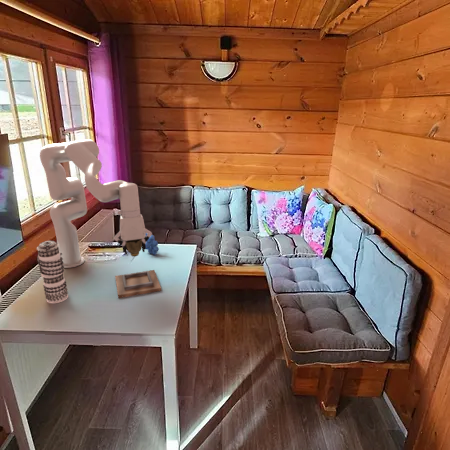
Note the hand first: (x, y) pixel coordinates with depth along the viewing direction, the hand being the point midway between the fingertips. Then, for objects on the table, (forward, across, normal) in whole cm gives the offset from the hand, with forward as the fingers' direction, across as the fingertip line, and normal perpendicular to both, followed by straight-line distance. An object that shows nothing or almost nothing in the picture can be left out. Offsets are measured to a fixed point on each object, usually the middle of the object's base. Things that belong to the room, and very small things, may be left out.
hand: (134, 251), depth 153 cm
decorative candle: (+16, -33, 0) cm, 37 cm away
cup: (+2, 0, 0) cm, 2 cm away
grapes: (+16, +10, +31) cm, 37 cm away
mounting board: (+16, 0, 0) cm, 16 cm away
